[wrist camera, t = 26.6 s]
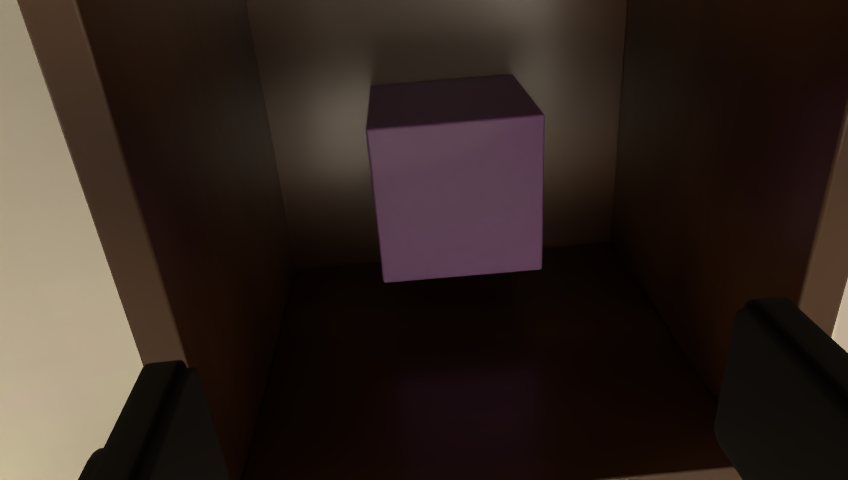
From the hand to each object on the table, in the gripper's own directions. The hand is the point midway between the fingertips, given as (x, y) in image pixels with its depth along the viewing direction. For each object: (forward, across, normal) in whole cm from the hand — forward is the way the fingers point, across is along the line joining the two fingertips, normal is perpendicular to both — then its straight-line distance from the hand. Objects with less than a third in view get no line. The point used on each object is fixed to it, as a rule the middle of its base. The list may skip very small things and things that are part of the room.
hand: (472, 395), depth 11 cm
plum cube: (+13, -1, 0) cm, 13 cm away
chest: (+14, -1, -3) cm, 15 cm away
